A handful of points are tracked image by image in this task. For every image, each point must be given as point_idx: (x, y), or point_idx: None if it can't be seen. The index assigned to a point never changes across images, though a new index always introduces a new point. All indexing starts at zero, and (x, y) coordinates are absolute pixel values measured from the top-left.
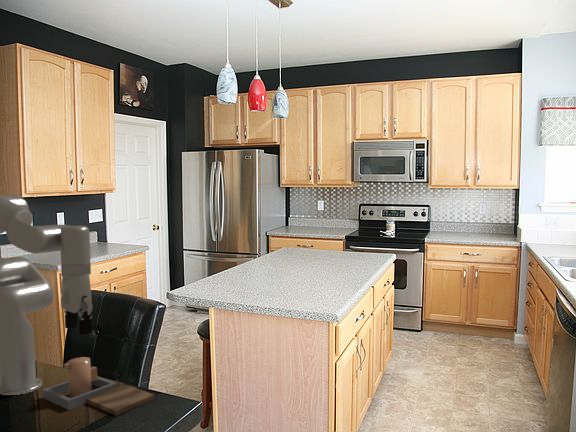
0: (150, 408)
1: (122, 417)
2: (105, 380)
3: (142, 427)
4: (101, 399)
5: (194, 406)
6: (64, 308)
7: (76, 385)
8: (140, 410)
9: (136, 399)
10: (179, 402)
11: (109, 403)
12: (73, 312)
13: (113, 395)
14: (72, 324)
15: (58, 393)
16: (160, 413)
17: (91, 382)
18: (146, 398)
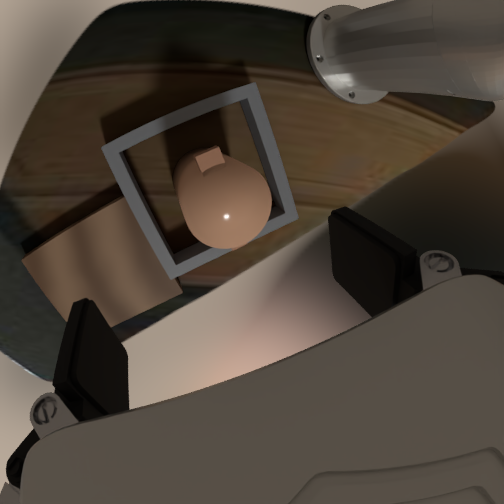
0: (44, 319)
1: (18, 266)
2: (211, 253)
3: None
4: (102, 232)
5: (38, 376)
6: (386, 325)
7: (178, 174)
8: (40, 302)
9: (69, 306)
10: None
11: (67, 249)
12: (53, 431)
13: (116, 262)
14: (341, 260)
15: (184, 119)
16: (20, 330)
17: None
18: None
